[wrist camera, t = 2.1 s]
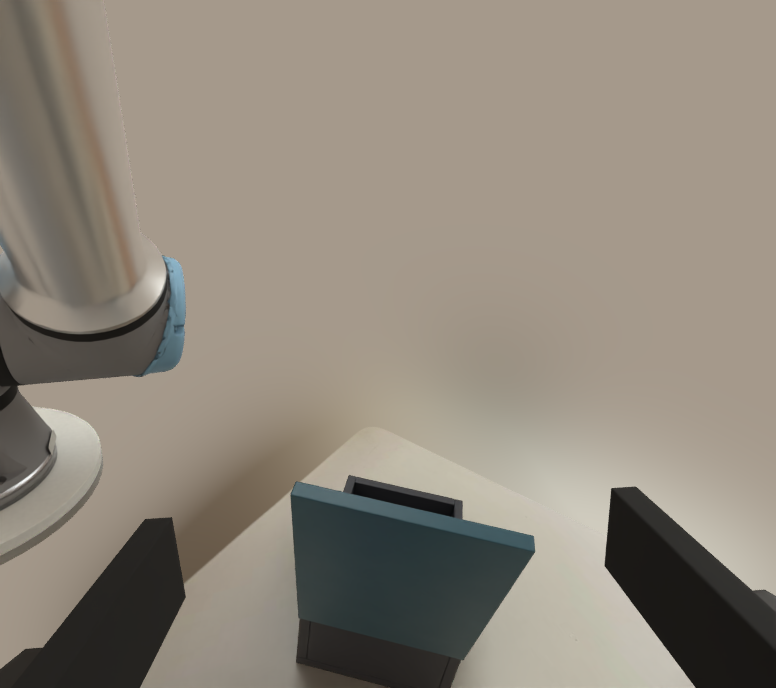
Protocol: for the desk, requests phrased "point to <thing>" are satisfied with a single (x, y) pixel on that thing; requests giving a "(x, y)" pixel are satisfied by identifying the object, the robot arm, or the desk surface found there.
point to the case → (372, 655)
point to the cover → (400, 569)
